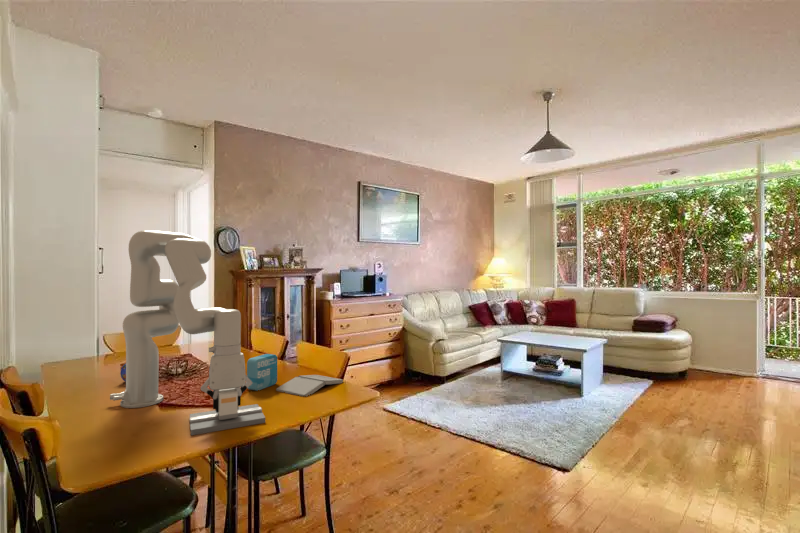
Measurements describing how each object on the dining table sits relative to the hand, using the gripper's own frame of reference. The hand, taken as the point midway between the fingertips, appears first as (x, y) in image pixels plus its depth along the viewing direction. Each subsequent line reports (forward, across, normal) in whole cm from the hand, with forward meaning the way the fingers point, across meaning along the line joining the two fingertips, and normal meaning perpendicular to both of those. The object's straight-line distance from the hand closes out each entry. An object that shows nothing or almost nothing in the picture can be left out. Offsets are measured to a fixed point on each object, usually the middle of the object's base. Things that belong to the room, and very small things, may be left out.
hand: (226, 409), depth 124 cm
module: (+1, 0, 0) cm, 1 cm away
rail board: (+4, 0, 0) cm, 4 cm away
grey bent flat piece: (+4, +33, +24) cm, 41 cm away
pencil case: (+4, -27, +72) cm, 77 cm away
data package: (+4, +16, +32) cm, 36 cm away
